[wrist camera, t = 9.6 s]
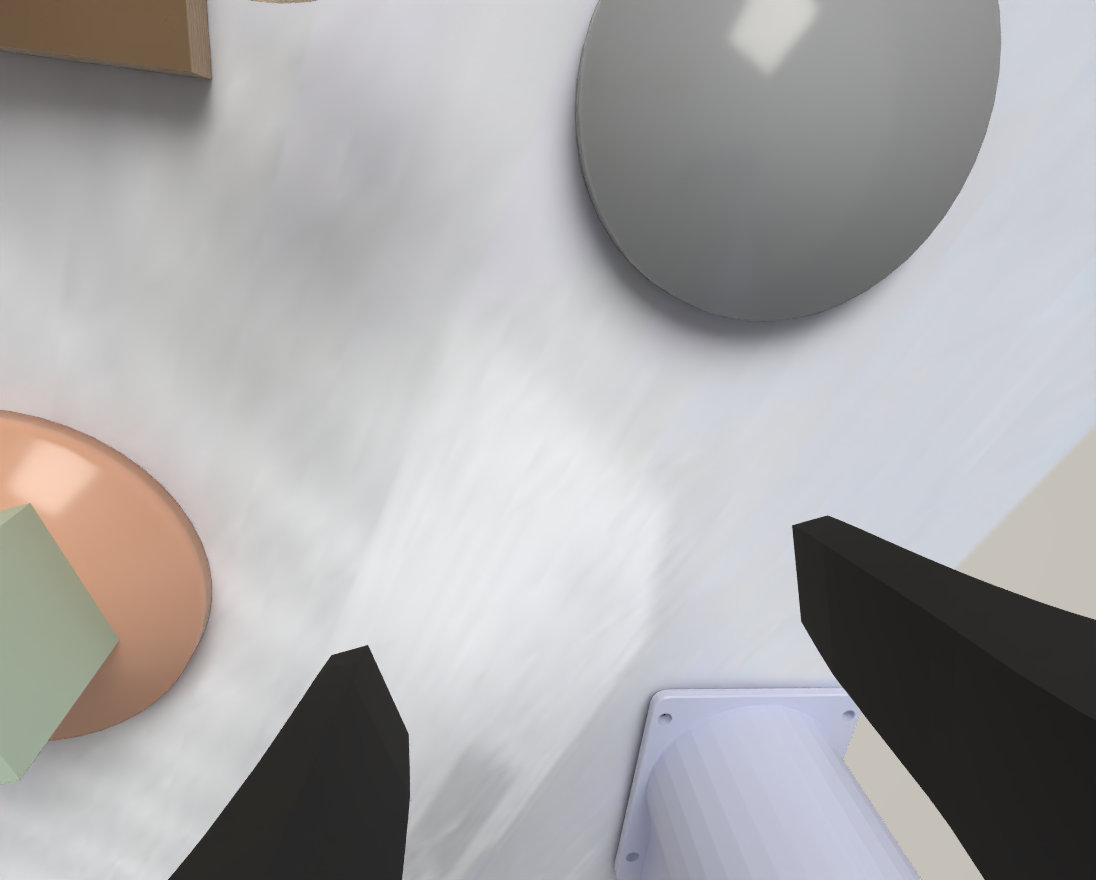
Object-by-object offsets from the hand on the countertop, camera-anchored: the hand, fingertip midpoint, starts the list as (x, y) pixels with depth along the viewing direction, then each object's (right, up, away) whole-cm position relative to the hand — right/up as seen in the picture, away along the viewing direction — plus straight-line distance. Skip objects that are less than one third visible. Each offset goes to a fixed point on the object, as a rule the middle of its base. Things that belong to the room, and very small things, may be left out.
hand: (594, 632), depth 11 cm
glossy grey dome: (+5, +11, +5) cm, 13 cm away
